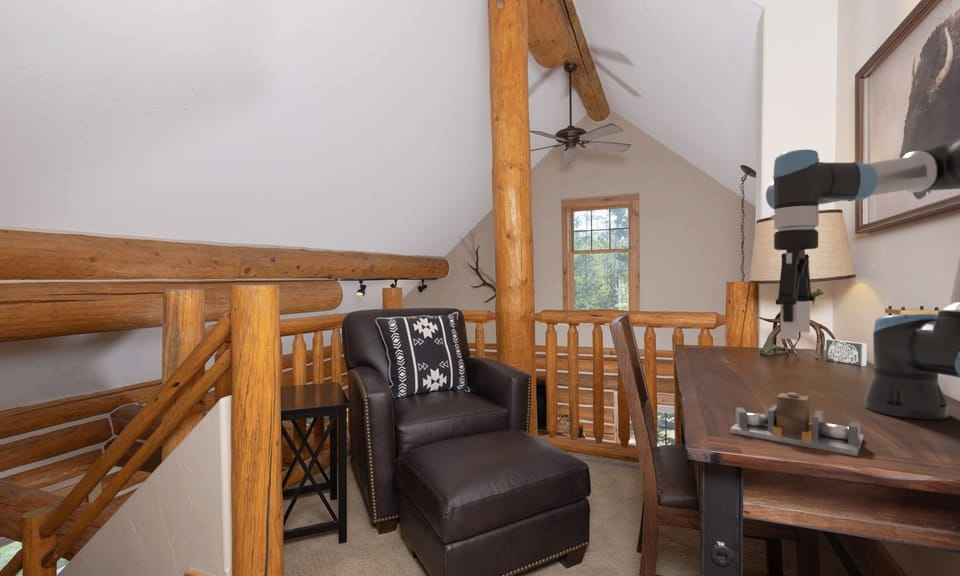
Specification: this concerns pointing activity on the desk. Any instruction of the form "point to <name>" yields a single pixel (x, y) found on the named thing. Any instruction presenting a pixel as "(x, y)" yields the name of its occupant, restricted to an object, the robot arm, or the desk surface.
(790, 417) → the block
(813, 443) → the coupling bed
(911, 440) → the desk surface
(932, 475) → the desk surface
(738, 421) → the shaft
